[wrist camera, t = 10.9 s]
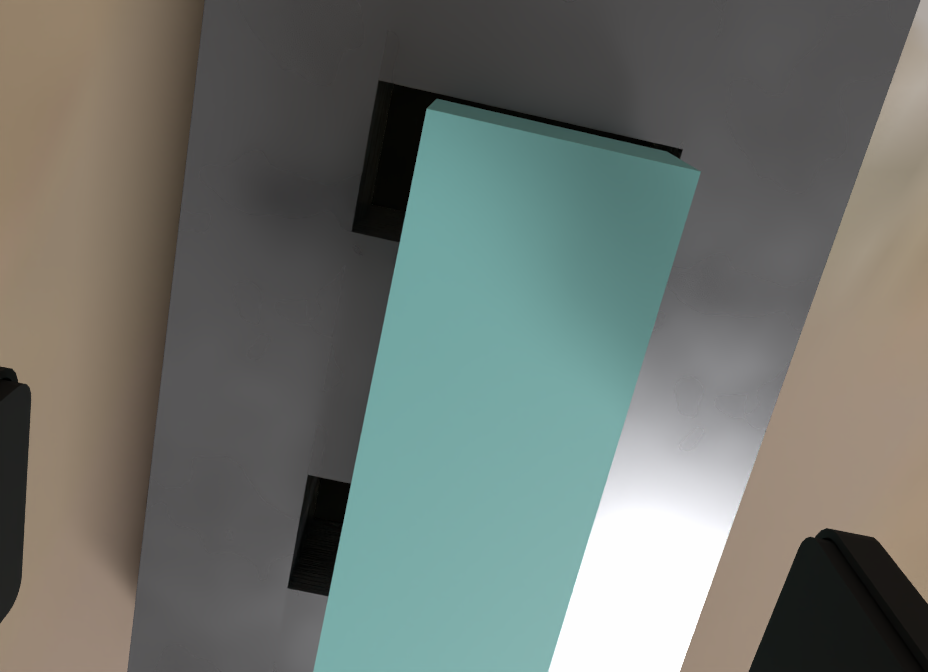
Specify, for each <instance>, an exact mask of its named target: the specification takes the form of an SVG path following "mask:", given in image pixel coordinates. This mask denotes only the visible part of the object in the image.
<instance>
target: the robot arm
mask: <svg viewBox="0 0 928 672" xmlns="http://www.w3.org/2000/svg"><path fill="white" fill-rule="evenodd" d="M30 410H31V392H30V388H29V386H28V385H27V384H22V383H18V379H17V376H16V373H15V372H14V370H13V369H10V368H5V367H0V623H1V622H2V620H3V619H4V618H5V616H6V615H7V614H8V612H9V611H10V609H11V608H12V606H13V604H14V602H15V600H16V597H17V595H18V592H19V588H20V584H21V578H22V561H23V542H24V523H25V504H26V485H27V466H28V448H29V429H30ZM749 672H928V604H927V603H926V601H925V600H924V599H923V598H922V596H921V595H920V594H919V592H918V591H917V590H916V589H915V587H914V586H913V585H912V584H911V582H910V581H909V580H908V578H907V577H906V576H905V575H904V573H903V572H902V571H901V570H900V568H899V567H898V566H897V564H896V563H895V562H894V561H893V559H892V558H891V557H890V555H889V554H888V553H887V552H886V550H885V549H884V548H883V547H882V545H881V544H880V543H879V542H878V541H877V540H876V539H875V538H874V537H869V536H864V535H859V534H853V533H848V532H843V531H838V530H833V529H828V528H826V529H824V530H821V531H820V532H819V533H818V534H817V535H816V537H815V538H813V537H808V538H806V539H805V540H804V541H803V542H802V543H801V545H800V547H799V549H798V552H797V554H796V556H795V559H794V561H793V564H792V566H791V569H790V571H789V574H788V576H787V579H786V581H785V584H784V586H783V588H782V591H781V593H780V596H779V598H778V601H777V603H776V606H775V608H774V611H773V613H772V616H771V618H770V620H769V623H768V625H767V628H766V630H765V633H764V635H763V638H762V640H761V643H760V645H759V648H758V650H757V652H756V655H755V657H754V660H753V662H752V665H751V667H750V670H749Z"/></svg>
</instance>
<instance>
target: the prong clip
mask: <svg viewBox="0 0 928 672" xmlns="http://www.w3.org/2000/svg"><path fill="white" fill-rule="evenodd" d="M700 173H701V171H699V170H697V169H696V168H694V167H692V166H691V165H689V164H687V163H686V162H684V161H682V160H680V159H679V158H677V157H675V156H674V155H672V154H670V153H669V152H667V151H662V150H658V149H654V148H649V147H645V146H641V145H636V144H632V143H628V142H623V141H619V140H614V139H610V138H606V137H601V136H597V135H593V134H588V133H584V132H580V131H575V130H571V129H567V128H562V127H558V126H554V125H549V124H545V123H541V122H536V121H532V120H528V119H523V118H519V117H515V116H510V115H506V114H502V113H497V112H493V111H488V110H484V109H480V108H475V107H471V106H467V105H462V104H458V103H454V102H449V101H445V100H441V99H436V100H435V101H434V102H433V103H432V104H431V105H430V106H429V107H428V108H427V110H426V115H425V120H424V125H423V130H422V135H421V140H420V145H419V150H418V154H417V159H416V164H415V169H414V174H413V179H412V184H411V189H410V194H409V199H408V204H407V209H406V214H405V219H404V224H403V229H402V234H401V239H400V244H399V249H398V254H397V259H396V264H395V269H394V274H393V279H392V283H391V288H390V293H389V298H388V303H387V308H386V313H385V318H384V323H383V328H382V333H381V338H380V343H379V348H378V353H377V358H376V363H375V368H374V373H373V378H372V383H371V388H370V393H369V398H368V403H367V408H366V413H365V417H364V422H363V427H362V432H361V437H360V442H359V447H358V452H357V457H356V462H355V467H354V472H353V477H352V482H351V487H350V492H349V497H348V502H347V507H346V512H345V517H344V522H343V527H342V532H341V537H340V542H339V547H338V551H337V556H336V561H335V566H334V571H333V576H332V581H331V586H330V591H329V596H328V601H327V606H326V611H325V616H324V621H323V626H322V631H321V636H320V641H319V646H318V651H317V656H316V661H315V666H314V671H313V672H548V671H549V668H550V665H551V661H552V658H553V655H554V651H555V648H556V645H557V642H558V638H559V635H560V632H561V629H562V625H563V622H564V619H565V615H566V612H567V609H568V606H569V602H570V599H571V596H572V592H573V589H574V586H575V583H576V579H577V576H578V573H579V570H580V566H581V563H582V560H583V556H584V553H585V550H586V547H587V543H588V540H589V537H590V534H591V530H592V527H593V524H594V520H595V517H596V514H597V511H598V507H599V504H600V501H601V497H602V494H603V491H604V488H605V484H606V481H607V478H608V475H609V471H610V468H611V465H612V461H613V458H614V455H615V452H616V448H617V445H618V442H619V439H620V435H621V432H622V429H623V425H624V422H625V419H626V416H627V412H628V409H629V406H630V402H631V399H632V396H633V393H634V389H635V386H636V383H637V380H638V376H639V373H640V370H641V366H642V363H643V360H644V357H645V353H646V350H647V347H648V343H649V340H650V337H651V334H652V330H653V327H654V324H655V321H656V317H657V314H658V311H659V307H660V304H661V301H662V298H663V294H664V291H665V288H666V285H667V281H668V278H669V275H670V271H671V268H672V265H673V262H674V258H675V255H676V252H677V248H678V245H679V242H680V239H681V235H682V232H683V229H684V226H685V222H686V219H687V216H688V212H689V209H690V206H691V203H692V199H693V196H694V193H695V189H696V186H697V183H698V180H699V176H700Z"/></svg>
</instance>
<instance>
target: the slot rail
mask: <svg viewBox="0 0 928 672" xmlns="http://www.w3.org/2000/svg"><path fill="white" fill-rule="evenodd" d="M919 3H920V0H205V4H204V12H203V21H202V30H201V38H200V47H199V56H198V64H197V73H196V82H195V90H194V99H193V108H192V116H191V125H190V134H189V142H188V151H187V160H186V168H185V177H184V186H183V194H182V203H181V212H180V220H179V229H178V238H177V246H176V255H175V263H174V272H173V281H172V289H171V298H170V307H169V315H168V324H167V333H166V341H165V350H164V359H163V367H162V376H161V385H160V393H159V402H158V411H157V419H156V428H155V437H154V445H153V454H152V463H151V471H150V480H149V489H148V497H147V506H146V515H145V523H144V532H143V541H142V549H141V558H140V567H139V575H138V584H137V593H136V601H135V610H134V619H133V627H132V636H131V645H130V653H129V662H128V671H127V672H313V671H314V666H315V661H316V656H317V651H318V646H319V641H320V636H321V631H322V626H323V621H324V616H325V611H326V606H327V601H328V596H329V591H330V586H331V581H332V576H333V571H334V566H335V561H336V556H337V551H338V547H339V542H340V537H341V532H342V527H343V523H338V522H333V521H328V520H323V519H319V518H314V513H315V508H316V502H317V497H318V492H319V486H320V481H321V478H326V479H331V480H336V481H340V482H345V483H350V484H351V482H352V477H353V472H354V467H355V462H356V457H357V452H358V447H359V442H360V437H361V432H362V427H363V422H364V417H365V413H366V408H367V403H368V398H369V393H370V388H371V383H372V378H373V373H374V368H375V363H376V358H377V353H378V348H379V343H380V338H381V333H382V328H383V323H384V318H385V313H386V308H387V303H388V298H389V293H390V288H391V283H392V279H393V274H394V269H395V264H396V259H397V254H398V249H399V244H400V239H401V234H402V229H403V224H404V219H405V214H406V212H403V211H399V210H394V209H390V208H385V207H381V206H376V205H372V200H373V194H374V189H375V183H376V178H377V173H378V167H379V162H380V156H381V151H382V146H383V140H384V135H385V129H386V124H387V119H388V113H389V108H390V102H391V97H392V92H393V86H394V84H398V85H402V86H407V87H411V88H416V89H420V90H424V91H429V92H433V93H438V94H442V95H446V96H451V97H455V98H460V99H464V100H468V101H473V102H477V103H482V104H486V105H490V106H495V107H499V108H504V109H508V110H512V111H517V112H521V113H526V114H530V115H534V116H539V117H543V118H548V119H552V120H556V121H561V122H565V123H570V124H574V125H578V126H583V127H587V128H592V129H596V130H601V131H605V132H609V133H614V134H618V135H623V136H627V137H631V138H636V139H640V140H645V141H649V142H651V144H650V148H654V149H658V150H662V151H667V152H669V153H670V154H672V155H674V156H675V157H677V158H679V159H680V160H682V161H684V162H686V163H687V164H689V165H691V166H692V167H694V168H696V169H697V170H699V171H701V173H700V176H699V180H698V183H697V186H696V189H695V193H694V196H693V199H692V203H691V206H690V209H689V212H688V216H687V219H686V222H685V226H684V229H683V232H682V235H681V239H680V242H679V245H678V248H677V252H676V255H675V258H674V262H673V265H672V268H671V271H670V275H669V278H668V281H667V285H666V288H665V291H664V294H663V298H662V301H661V304H660V307H659V311H658V314H657V317H656V321H655V324H654V327H653V330H652V334H651V337H650V340H649V343H648V347H647V350H646V353H645V357H644V360H643V363H642V366H641V370H640V373H639V376H638V380H637V383H636V386H635V389H634V393H633V396H632V399H631V402H630V406H629V409H628V412H627V416H626V419H625V422H624V425H623V429H622V432H621V435H620V439H619V442H618V445H617V448H616V452H615V455H614V458H613V461H612V465H611V468H610V471H609V475H608V478H607V481H606V484H605V488H604V491H603V494H602V497H601V501H600V504H599V507H598V511H597V514H596V517H595V520H594V524H593V527H592V530H591V534H590V537H589V540H588V543H587V547H586V550H585V553H584V556H583V560H582V563H581V566H580V570H579V573H578V576H577V579H576V583H575V586H574V589H573V592H572V596H571V599H570V602H569V606H568V609H567V612H566V615H565V619H564V622H563V625H562V629H561V632H560V635H559V638H558V642H557V645H556V648H555V651H554V655H553V658H552V661H551V665H550V668H549V671H548V672H679V671H680V669H681V666H682V663H683V660H684V657H685V655H686V652H687V649H688V646H689V643H690V641H691V638H692V635H693V632H694V630H695V627H696V624H697V621H698V618H699V616H700V613H701V610H702V607H703V604H704V602H705V599H706V596H707V593H708V591H709V588H710V585H711V582H712V579H713V577H714V574H715V571H716V568H717V565H718V563H719V560H720V557H721V554H722V552H723V549H724V546H725V543H726V540H727V538H728V535H729V532H730V529H731V526H732V524H733V521H734V518H735V515H736V513H737V510H738V507H739V504H740V501H741V499H742V496H743V493H744V490H745V487H746V485H747V482H748V479H749V476H750V474H751V471H752V468H753V465H754V462H755V460H756V457H757V454H758V451H759V448H760V446H761V443H762V440H763V437H764V435H765V432H766V429H767V426H768V423H769V421H770V418H771V415H772V412H773V409H774V407H775V404H776V401H777V398H778V396H779V393H780V390H781V387H782V384H783V382H784V379H785V376H786V373H787V370H788V368H789V365H790V362H791V359H792V357H793V354H794V351H795V348H796V345H797V343H798V340H799V337H800V334H801V331H802V329H803V326H804V323H805V320H806V317H807V315H808V312H809V309H810V306H811V304H812V301H813V298H814V295H815V292H816V290H817V287H818V284H819V281H820V278H821V276H822V273H823V270H824V267H825V265H826V262H827V259H828V256H829V253H830V251H831V248H832V245H833V242H834V239H835V237H836V234H837V231H838V228H839V226H840V223H841V220H842V217H843V214H844V212H845V209H846V206H847V203H848V200H849V198H850V195H851V192H852V189H853V187H854V184H855V181H856V178H857V175H858V173H859V170H860V167H861V164H862V161H863V159H864V156H865V153H866V150H867V148H868V145H869V142H870V139H871V136H872V134H873V131H874V128H875V125H876V122H877V120H878V117H879V114H880V111H881V109H882V106H883V103H884V100H885V97H886V95H887V92H888V89H889V86H890V83H891V81H892V78H893V75H894V72H895V70H896V67H897V64H898V61H899V58H900V56H901V53H902V50H903V47H904V44H905V42H906V39H907V36H908V33H909V31H910V28H911V25H912V22H913V19H914V17H915V14H916V11H917V8H918V5H919Z"/></svg>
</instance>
